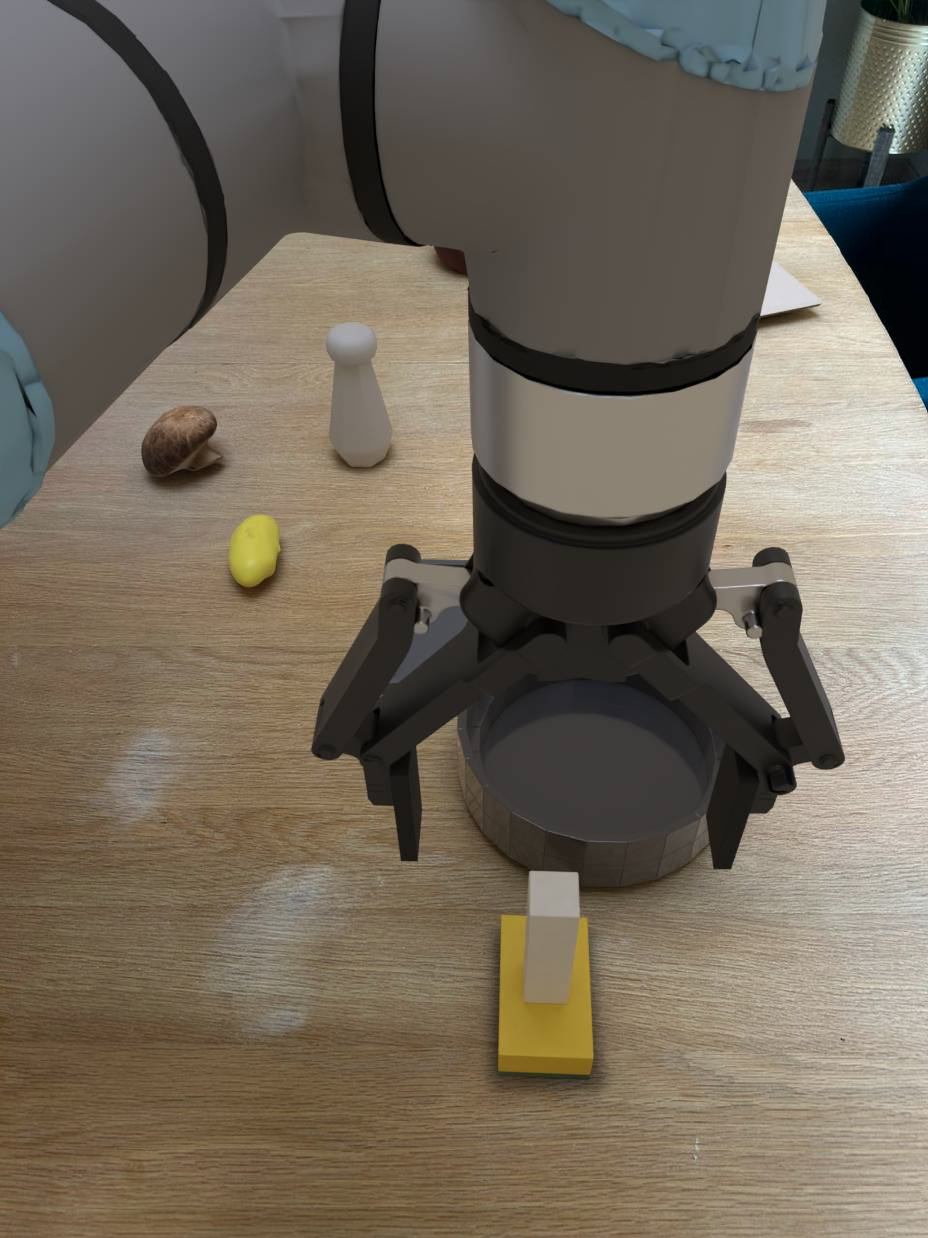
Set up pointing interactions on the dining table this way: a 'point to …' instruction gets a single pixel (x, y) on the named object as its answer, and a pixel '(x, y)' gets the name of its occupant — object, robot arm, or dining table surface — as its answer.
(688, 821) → the bowl
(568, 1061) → the sponge brush
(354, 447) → the salt shaker
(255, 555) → the yellow potato
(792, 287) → the plate
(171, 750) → the dining table surface
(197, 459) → the mushroom
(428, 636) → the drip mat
